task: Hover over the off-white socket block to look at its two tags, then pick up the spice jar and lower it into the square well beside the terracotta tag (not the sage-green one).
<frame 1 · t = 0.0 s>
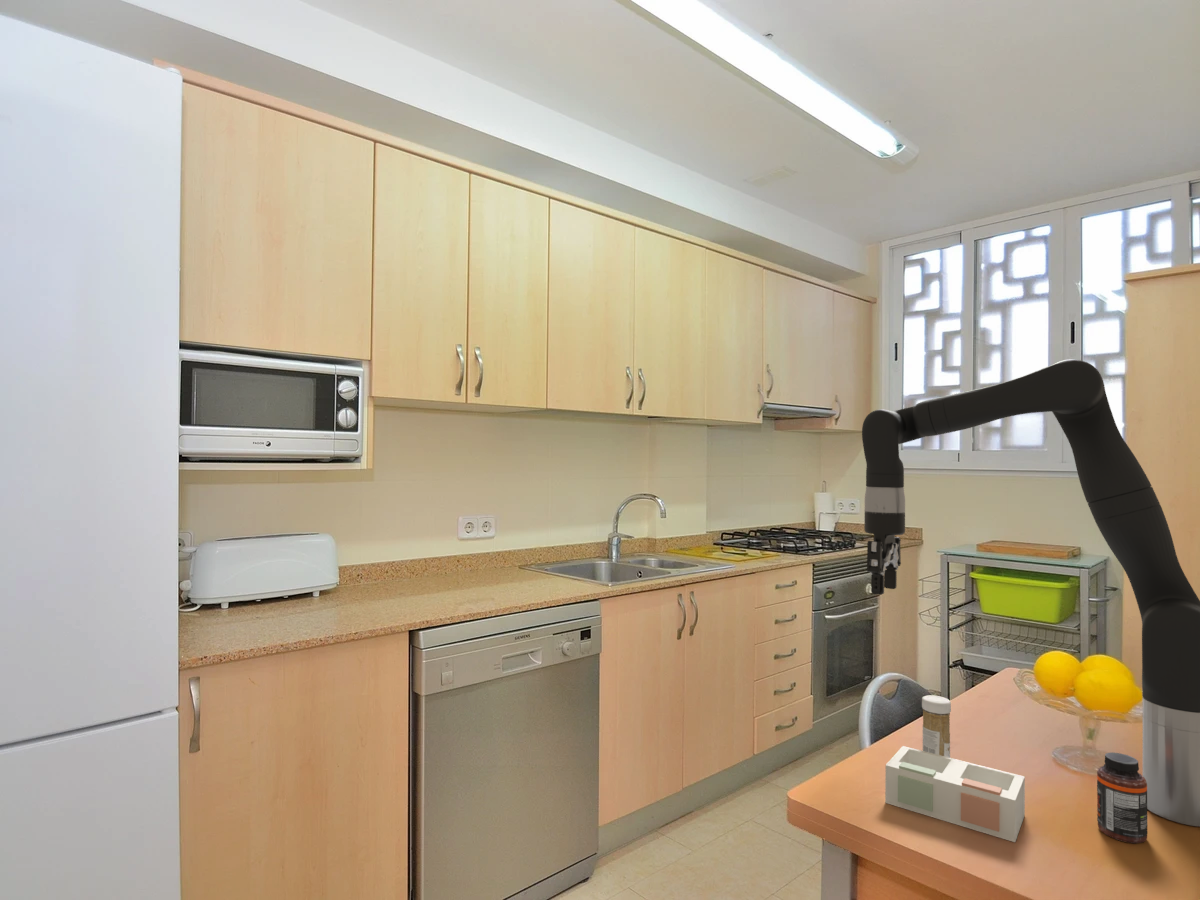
hand: (884, 591, 137), 29 cm above the table, tool pointing down, fingers open, 8 cm apart
spice jar: (936, 777, 120), on the table
socket block: (953, 809, 109), on the table
supplement bottle: (1121, 835, 102), on the table
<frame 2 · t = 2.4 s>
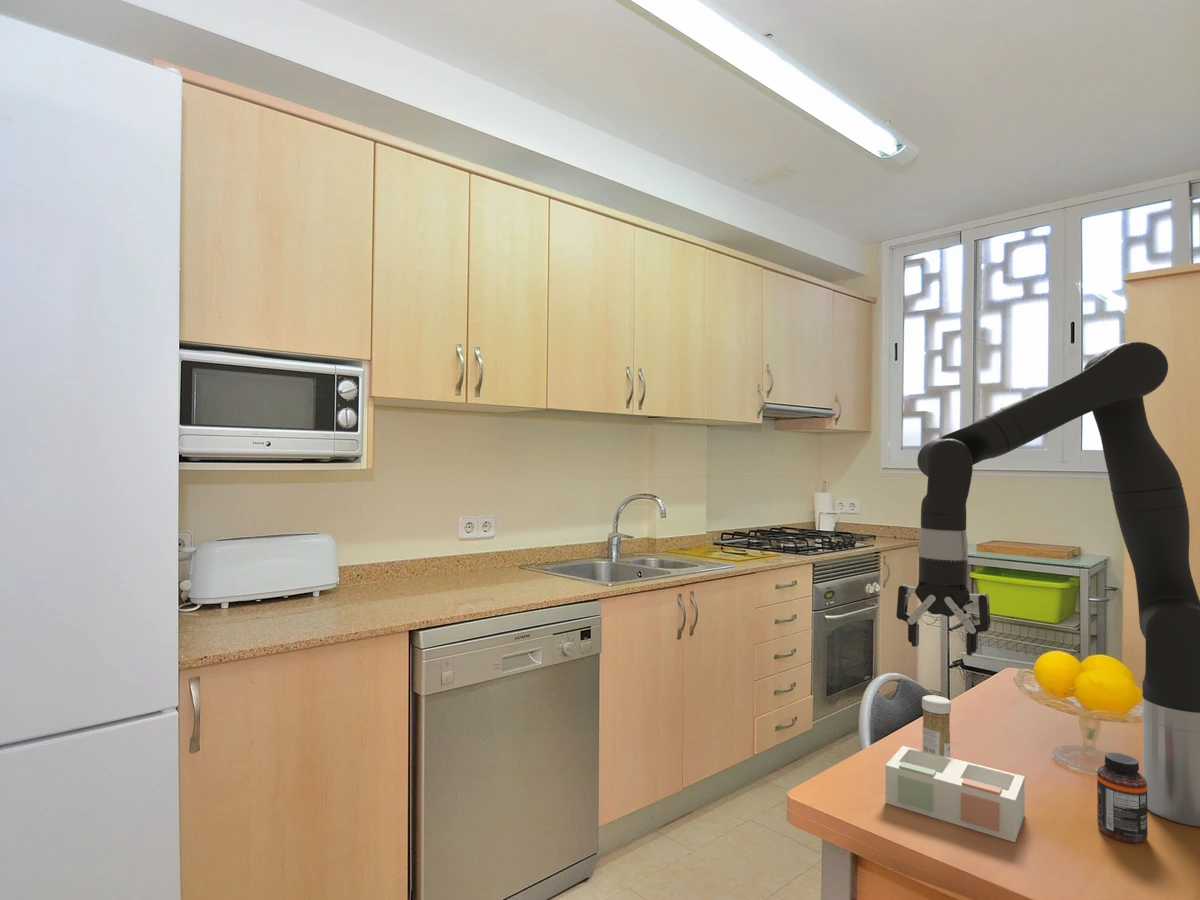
hand: (941, 650, 118), 23 cm above the table, tool pointing down, fingers open, 8 cm apart
nothing on the table moved.
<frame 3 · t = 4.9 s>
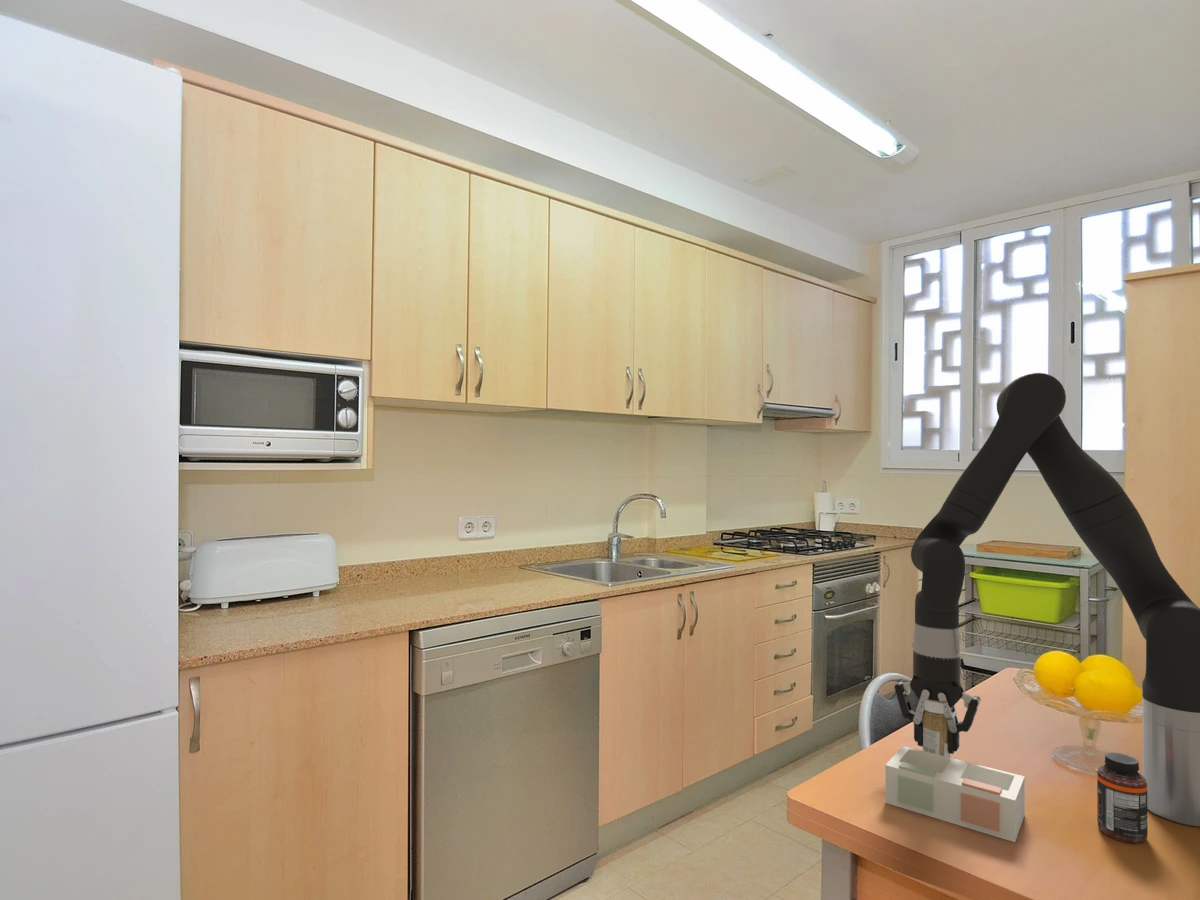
hand: (936, 748, 120), 5 cm above the table, tool pointing down, fingers closed on spice jar, 4 cm apart
spice jar: (936, 776, 120), on the table, touching gripper
everything else where it was.
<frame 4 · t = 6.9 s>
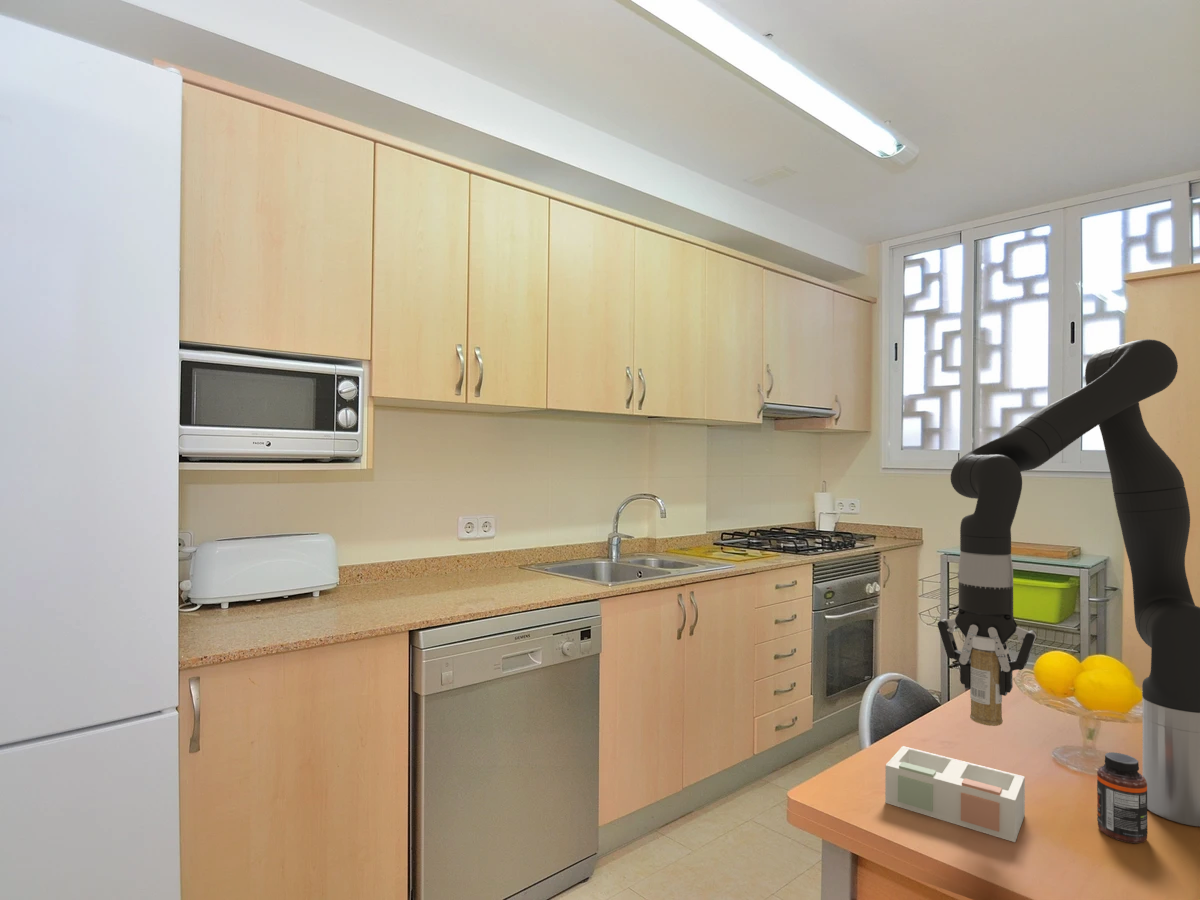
hand: (985, 690, 108), 19 cm above the table, tool pointing down, fingers closed on spice jar, 4 cm apart
spice jar: (985, 722, 107), point 14 cm above the table, touching gripper
everything else where it was.
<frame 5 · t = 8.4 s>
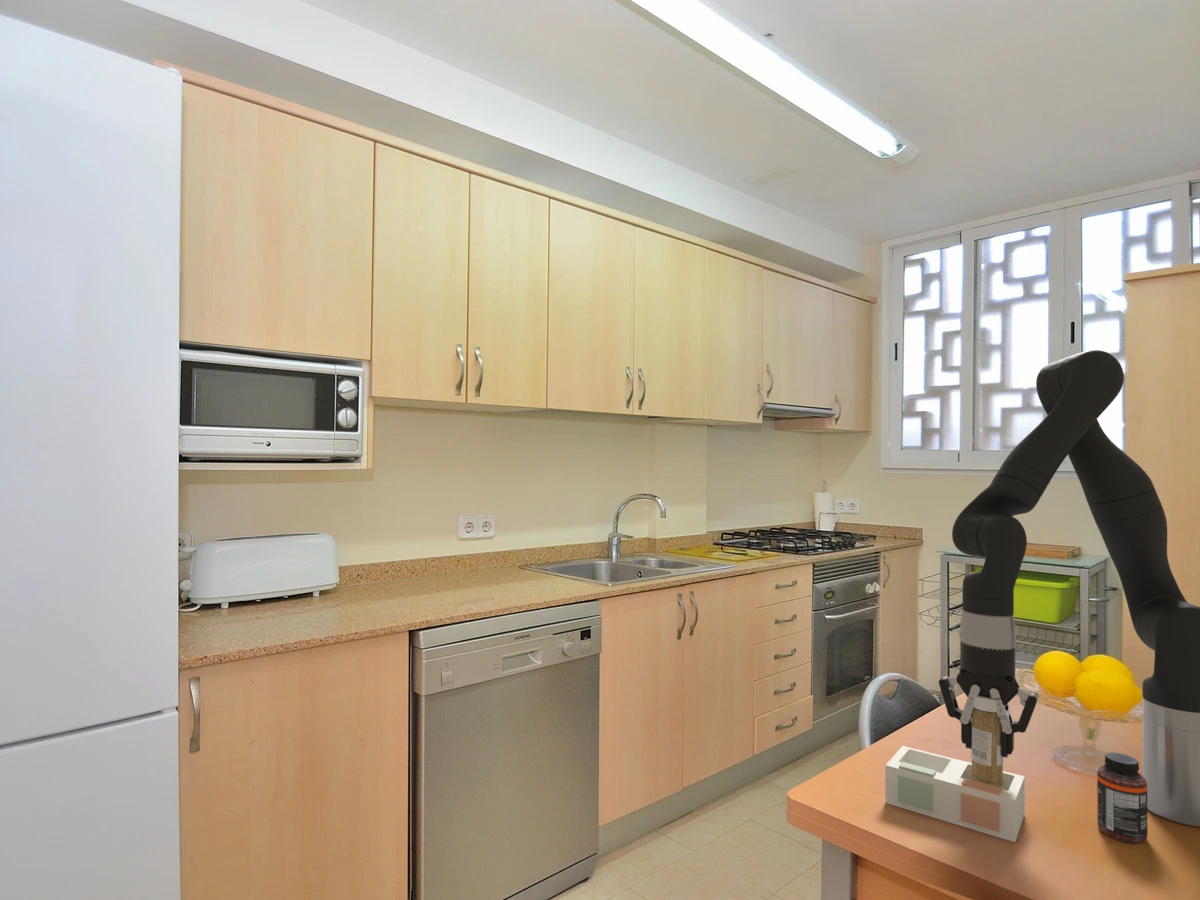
hand: (986, 750, 107), 10 cm above the table, tool pointing down, fingers closed on spice jar, 4 cm apart
spice jar: (986, 783, 107), point 5 cm above the table, touching gripper
everything else where it was.
when the fingers open (7 cm above the table, at t = 9.3 s): spice jar drops 1 cm, resting on socket block.
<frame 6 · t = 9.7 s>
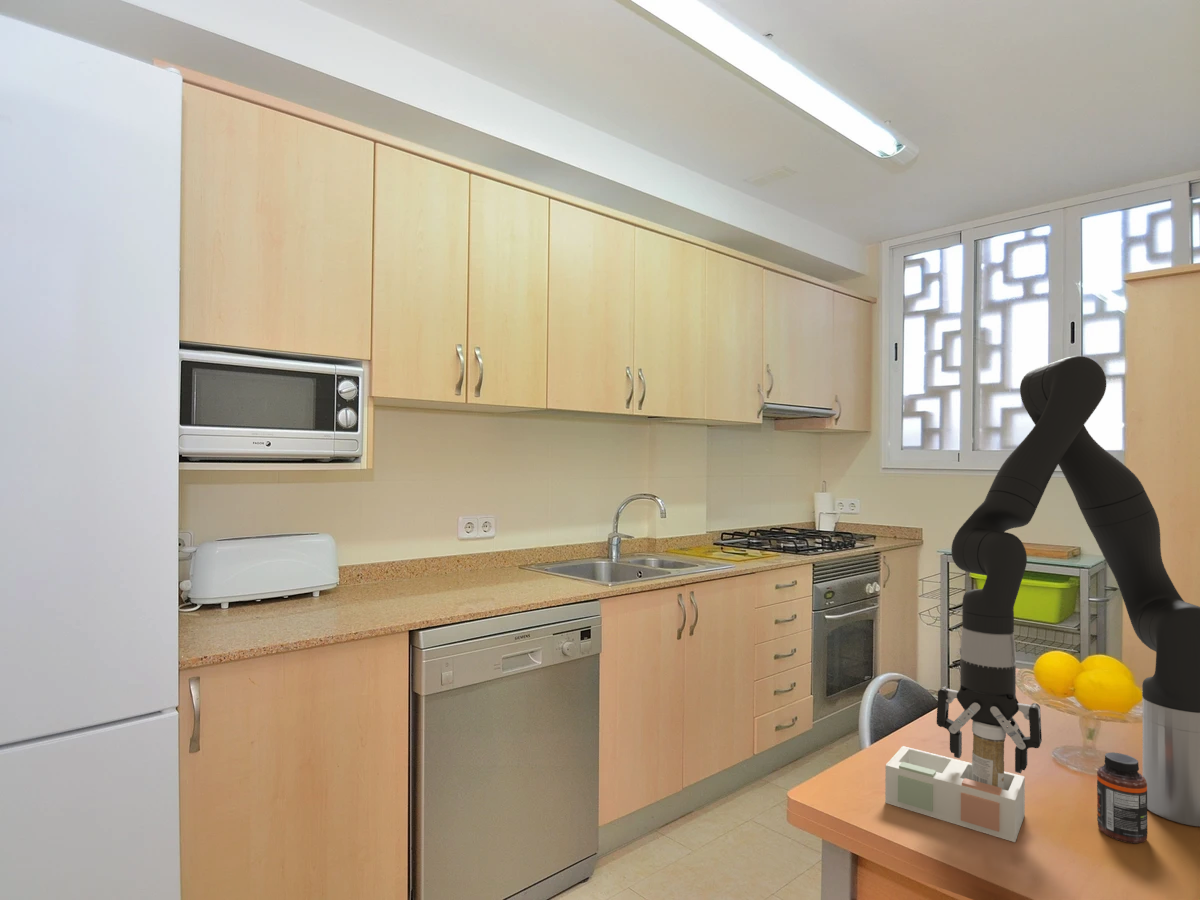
hand: (987, 763, 107), 8 cm above the table, tool pointing down, fingers open, 8 cm apart
spice jar: (986, 810, 107), point 1 cm above the table, touching socket block
everything else where it was.
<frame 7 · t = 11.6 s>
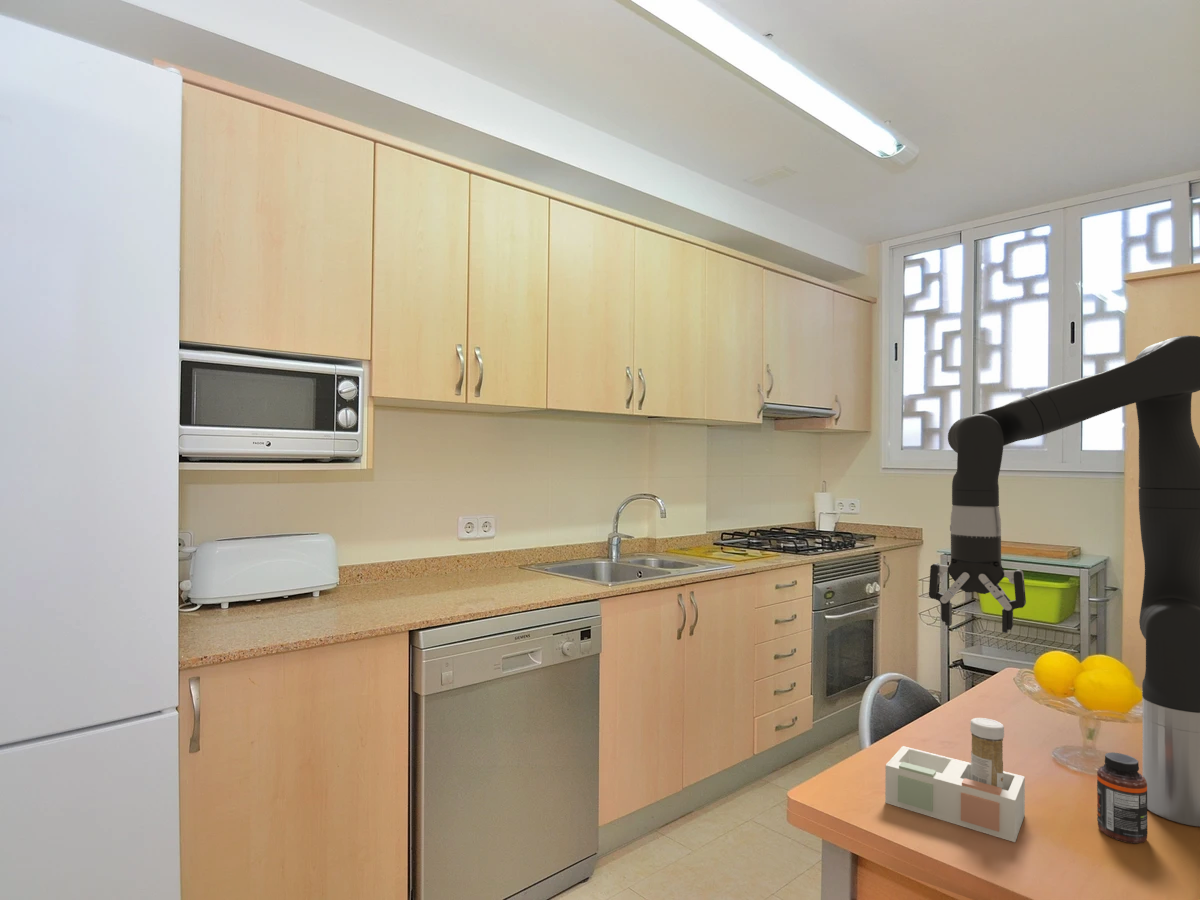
hand: (976, 628, 116), 27 cm above the table, tool pointing down, fingers open, 8 cm apart
nothing on the table moved.
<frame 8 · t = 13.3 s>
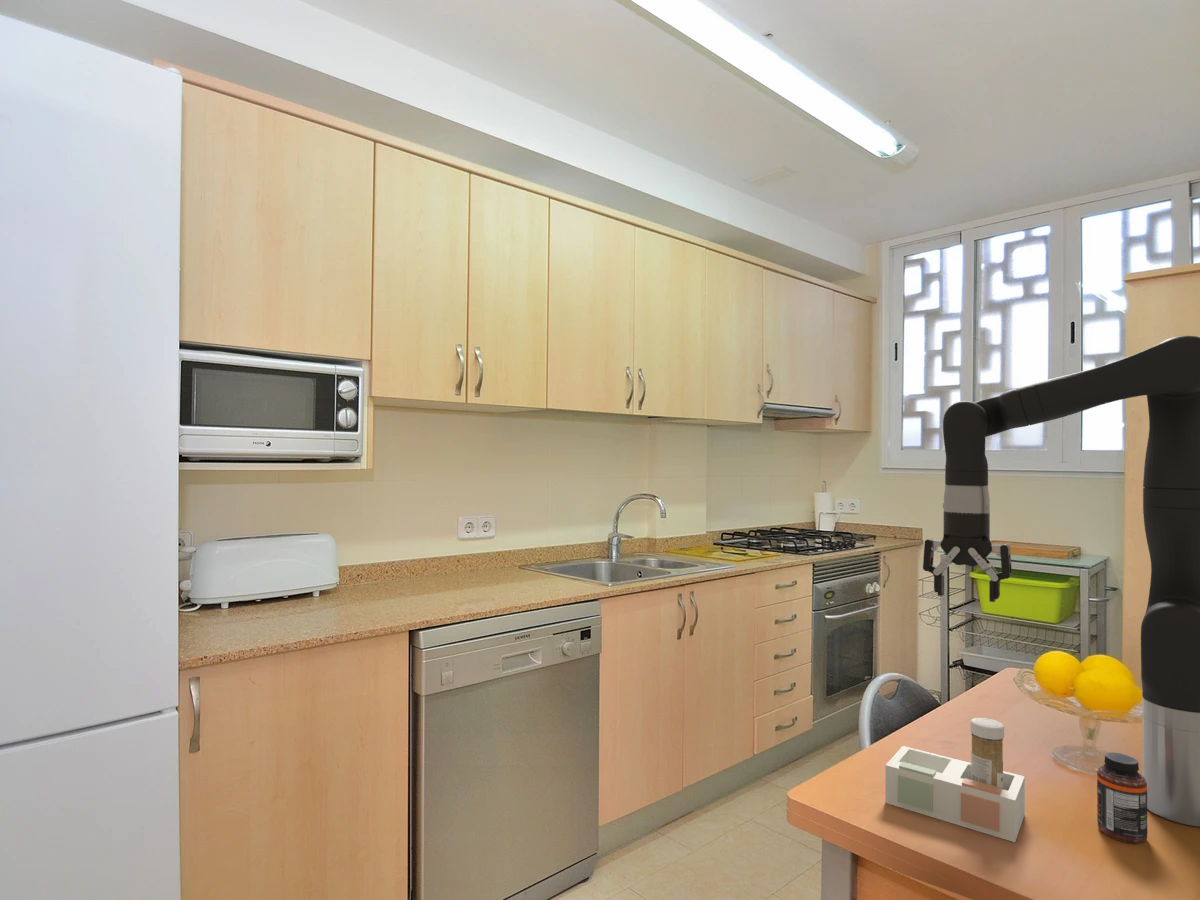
hand: (966, 598, 126), 30 cm above the table, tool pointing down, fingers open, 8 cm apart
nothing on the table moved.
at the end: spice jar 0.1 cm from the target spot on the socket block, point 0.8 cm above the socket block's base; spice jar tilted 0°; the gripper is holding nothing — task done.
